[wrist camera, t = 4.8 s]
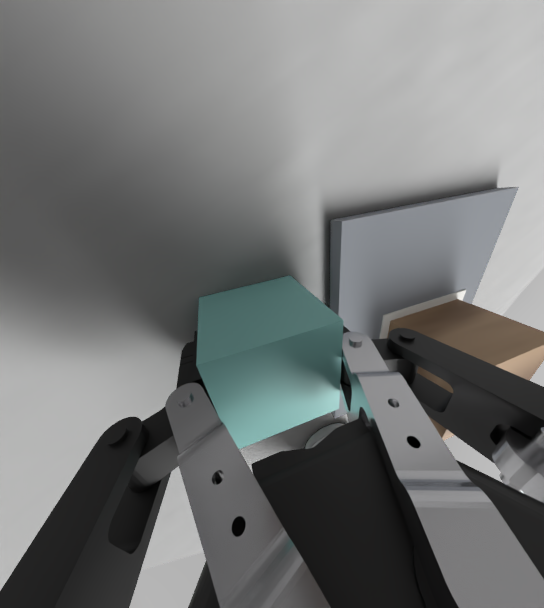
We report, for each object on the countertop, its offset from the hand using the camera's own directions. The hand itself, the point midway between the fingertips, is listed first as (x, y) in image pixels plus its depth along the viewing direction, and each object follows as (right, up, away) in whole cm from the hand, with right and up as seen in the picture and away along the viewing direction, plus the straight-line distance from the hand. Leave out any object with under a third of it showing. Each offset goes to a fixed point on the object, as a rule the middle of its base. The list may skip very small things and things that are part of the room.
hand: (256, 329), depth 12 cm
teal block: (0, 0, 0) cm, 0 cm away
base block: (+12, -2, +4) cm, 13 cm away
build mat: (+11, 0, +4) cm, 11 cm away
